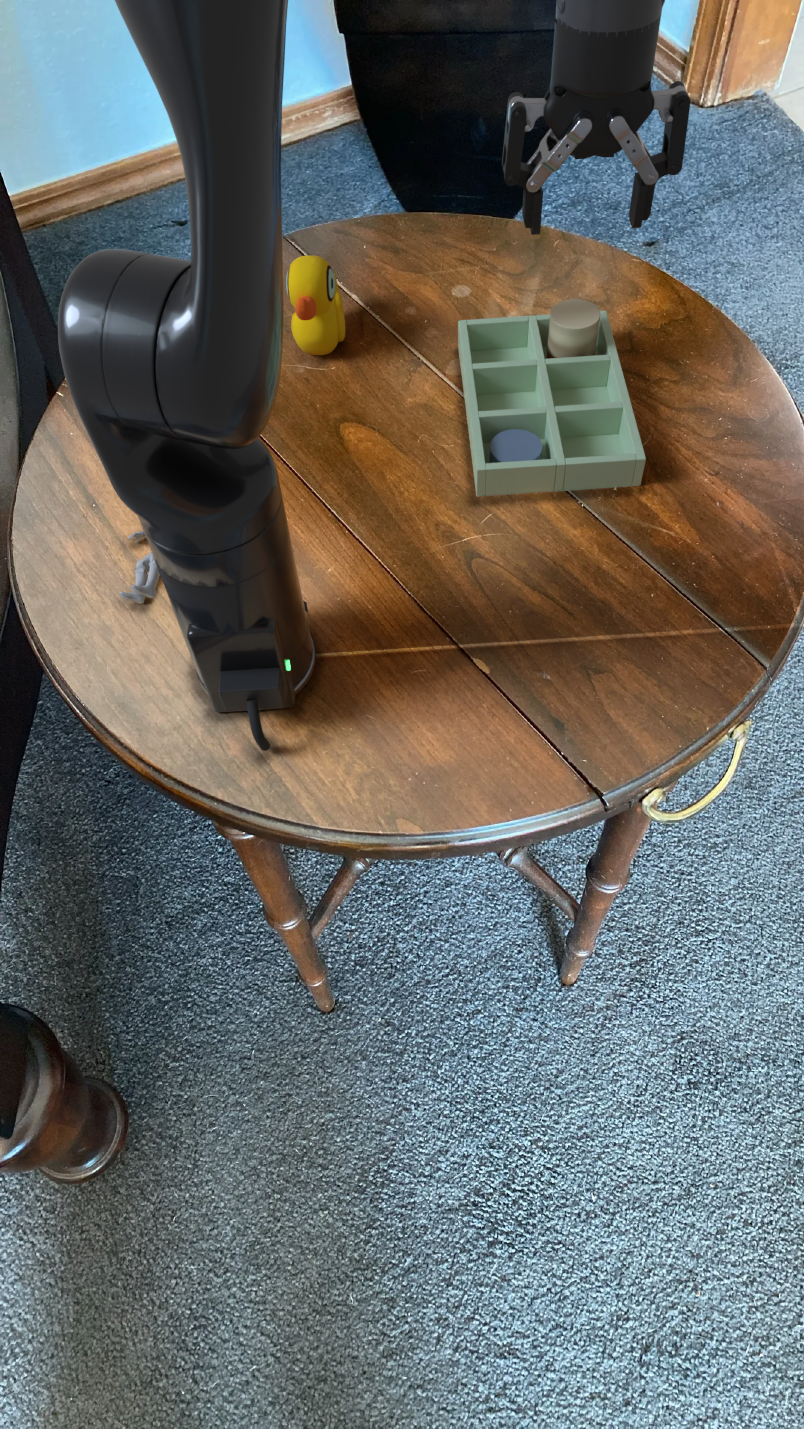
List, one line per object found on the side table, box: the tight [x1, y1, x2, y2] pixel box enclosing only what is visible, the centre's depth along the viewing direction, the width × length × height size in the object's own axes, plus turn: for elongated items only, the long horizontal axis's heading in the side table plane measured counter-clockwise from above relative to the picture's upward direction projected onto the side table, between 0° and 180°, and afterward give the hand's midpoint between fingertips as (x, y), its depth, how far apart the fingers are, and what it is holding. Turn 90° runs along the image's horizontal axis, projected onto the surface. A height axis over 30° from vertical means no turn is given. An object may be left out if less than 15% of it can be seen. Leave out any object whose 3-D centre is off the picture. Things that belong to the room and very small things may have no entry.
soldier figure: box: [118, 530, 161, 605], centre depth 82 cm, size 8×5×12 cm
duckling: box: [285, 254, 346, 356], centre depth 95 cm, size 11×5×10 cm, turn 174°
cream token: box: [547, 298, 601, 358], centre depth 91 cm, size 5×5×4 cm
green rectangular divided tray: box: [457, 309, 647, 497], centre depth 90 cm, size 14×21×4 cm
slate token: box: [489, 429, 542, 463], centre depth 86 cm, size 5×5×2 cm
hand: (584, 226), depth 83 cm, fingers open, 8 cm apart
